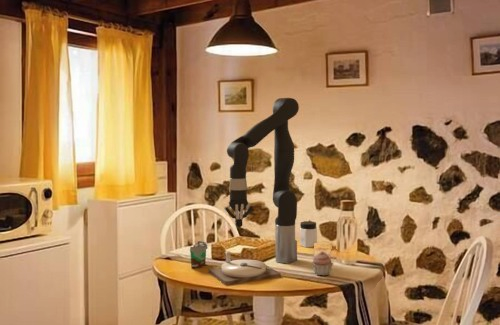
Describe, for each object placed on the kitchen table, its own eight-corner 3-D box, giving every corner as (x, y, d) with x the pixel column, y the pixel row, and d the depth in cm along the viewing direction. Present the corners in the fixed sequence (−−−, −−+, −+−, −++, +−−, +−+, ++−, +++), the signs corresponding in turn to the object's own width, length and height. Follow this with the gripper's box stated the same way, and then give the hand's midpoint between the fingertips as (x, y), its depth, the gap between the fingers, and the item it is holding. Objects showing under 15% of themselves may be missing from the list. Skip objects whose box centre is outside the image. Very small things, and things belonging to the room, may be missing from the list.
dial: (254, 262, 246) (254, 247, 245) (273, 273, 228) (273, 257, 228) (215, 268, 238) (214, 252, 237) (231, 279, 221) (231, 263, 220)
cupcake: (307, 275, 231) (307, 252, 230) (317, 270, 239) (317, 247, 238) (327, 278, 226) (327, 255, 225) (337, 273, 233) (337, 250, 233)
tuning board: (260, 265, 248) (260, 261, 247) (280, 276, 229) (280, 272, 229) (208, 272, 237) (208, 268, 237) (225, 285, 219) (225, 281, 219)
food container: (203, 269, 242) (203, 247, 241) (190, 269, 243) (189, 247, 242) (211, 262, 254) (210, 241, 253) (198, 261, 255) (197, 240, 254)
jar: (296, 245, 284) (296, 222, 283) (308, 242, 289) (308, 220, 288) (308, 248, 277) (308, 225, 276) (320, 246, 282) (320, 223, 280)
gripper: (250, 186, 244) (251, 224, 245) (221, 187, 240) (222, 226, 242) (255, 188, 236) (255, 228, 238) (225, 190, 233) (225, 230, 235)
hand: (238, 227), depth 240 cm, fingers closed
